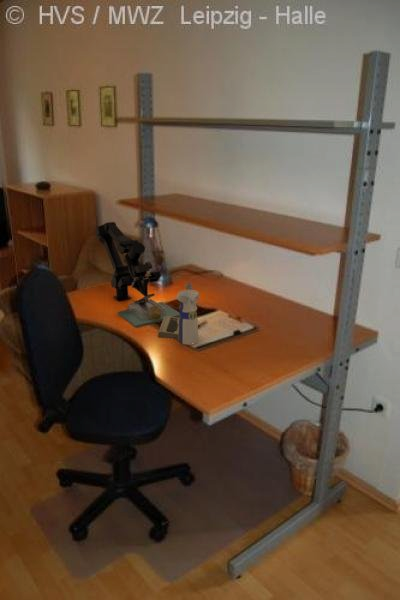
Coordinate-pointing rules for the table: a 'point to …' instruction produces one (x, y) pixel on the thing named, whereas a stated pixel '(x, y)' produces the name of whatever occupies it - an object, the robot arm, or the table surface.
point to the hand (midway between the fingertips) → (146, 296)
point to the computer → (169, 327)
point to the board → (138, 322)
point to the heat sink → (147, 310)
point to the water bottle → (188, 315)
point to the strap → (145, 297)
